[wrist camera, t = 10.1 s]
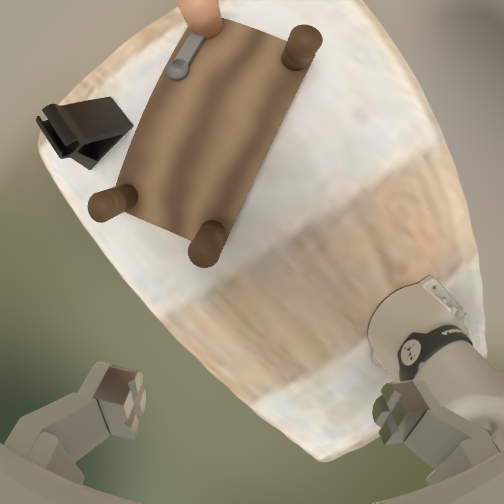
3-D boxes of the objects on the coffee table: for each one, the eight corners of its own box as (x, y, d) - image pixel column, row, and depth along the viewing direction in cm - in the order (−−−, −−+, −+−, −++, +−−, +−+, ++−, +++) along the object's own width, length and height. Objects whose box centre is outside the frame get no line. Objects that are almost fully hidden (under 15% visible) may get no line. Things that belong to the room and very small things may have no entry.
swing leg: (188, 84, 29) (173, 67, 22) (159, 74, 29) (139, 57, 22) (228, 19, 26) (224, -10, 19) (199, 10, 26) (189, -19, 19)
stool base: (310, 61, 31) (332, 32, 21) (222, 245, 39) (214, 277, 29) (201, 20, 29) (187, -17, 19) (118, 201, 37) (81, 218, 27)
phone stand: (111, 97, 32) (65, 81, 21) (134, 126, 34) (91, 117, 22) (70, 141, 34) (18, 142, 22) (90, 170, 35) (40, 179, 24)
